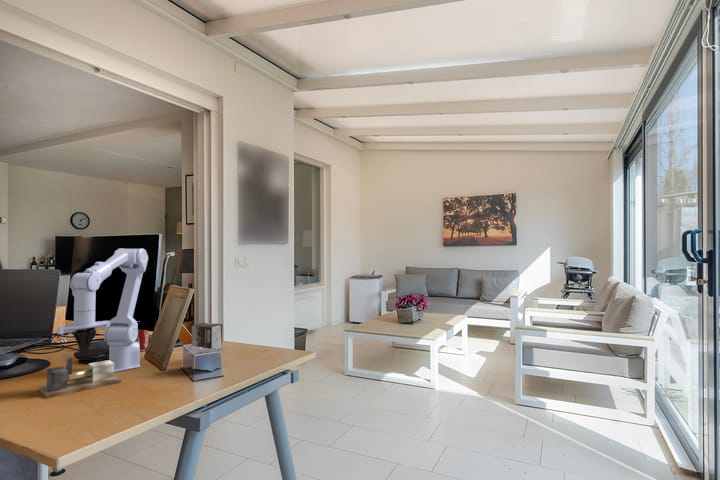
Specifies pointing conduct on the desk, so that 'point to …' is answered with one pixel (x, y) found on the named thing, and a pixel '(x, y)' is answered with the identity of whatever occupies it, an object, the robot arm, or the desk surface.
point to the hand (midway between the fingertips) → (84, 352)
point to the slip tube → (78, 374)
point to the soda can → (142, 339)
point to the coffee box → (207, 335)
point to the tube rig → (60, 386)
